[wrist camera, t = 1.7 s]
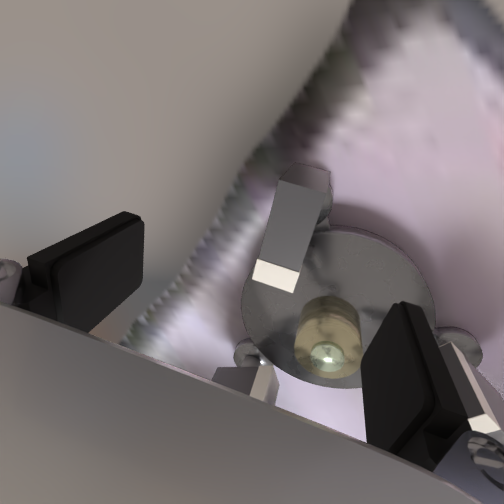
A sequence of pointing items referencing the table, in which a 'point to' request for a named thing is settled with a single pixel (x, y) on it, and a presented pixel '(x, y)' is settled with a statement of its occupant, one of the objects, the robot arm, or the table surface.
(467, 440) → the robot arm
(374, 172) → the table surface
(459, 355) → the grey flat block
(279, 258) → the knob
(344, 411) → the table surface
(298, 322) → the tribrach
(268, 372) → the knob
